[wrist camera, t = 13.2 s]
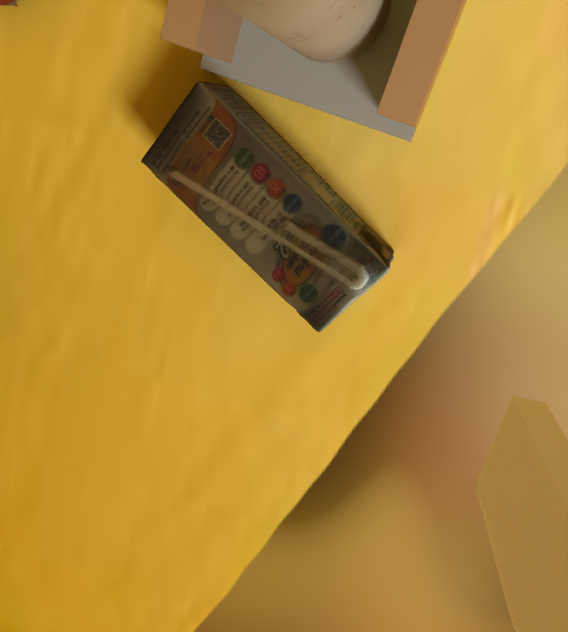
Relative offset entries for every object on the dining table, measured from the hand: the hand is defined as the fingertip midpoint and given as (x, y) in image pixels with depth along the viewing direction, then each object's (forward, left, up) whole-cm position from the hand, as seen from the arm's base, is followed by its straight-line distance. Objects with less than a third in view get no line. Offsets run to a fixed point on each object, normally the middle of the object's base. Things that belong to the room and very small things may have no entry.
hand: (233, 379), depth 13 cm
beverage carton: (-7, -2, -32) cm, 33 cm away
